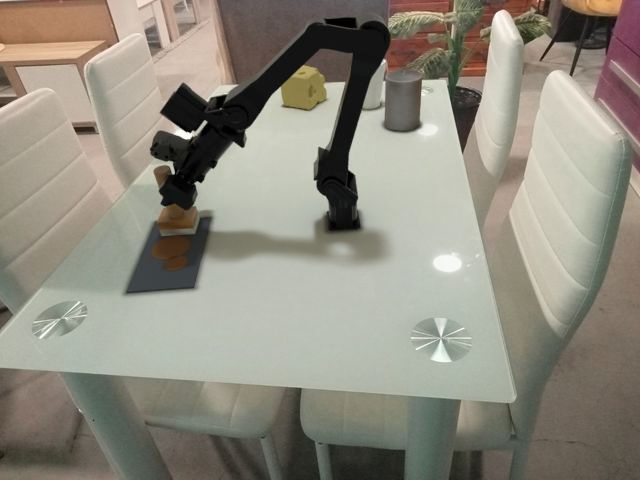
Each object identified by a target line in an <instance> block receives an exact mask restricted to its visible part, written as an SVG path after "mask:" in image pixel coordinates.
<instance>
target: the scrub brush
mask: <svg viewBox="0 0 640 480" xmlns="http://www.w3.org/2000/svg"><path fill="white" fill-rule="evenodd" d="M152 173H153V175H154V178H155V181H156V184H157V187H158V190H159V189H160V187H161V185H162V183H163V181H164V179H165V177H166V175H171V174H173V172H172V168H171V166H169V165H167V164H163V165H158V166H156V167H155V168H154V169H153V171H152ZM161 198H162V199H163V196H162V195H161ZM200 218H201V217H200V215H199V211H198V208H197V205H193V206H192V207H191V208H190V209H189V210H184V209H182V208H181V207H179V206H178V205H176V204H172V205H169V206H166V207H162V209H161V211H160V214H159V216H158V218H157V220H156V221H157V225H158V228H159V230H160V233H161V236H170V235H187V234H195V233H196V230H197V227H198V224H199V221H200Z"/></svg>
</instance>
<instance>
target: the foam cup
mask: <svg viewBox="0 0 640 480" xmlns="http://www.w3.org/2000/svg"><path fill="white" fill-rule="evenodd" d="M386 63H387V61H386V59H385V58H384V59H383V61H382V63H381V65H380V67H379V68H378V69H377V71H376V72H375V74H374V75H373V77H372V79H371V81H370V84H369V87H368V91H367V94H366V97H365V101H364V104H363V108H362V109H368V110H373V109H376V108H379V107H380V106H381V102H382V101H381V100H382V93H383V86H384V80H385V79H384V78H385V72H386V69H387V68H386Z"/></svg>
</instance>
